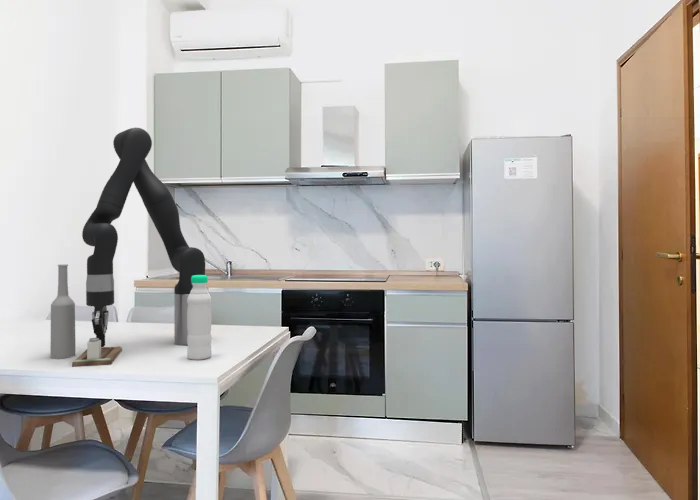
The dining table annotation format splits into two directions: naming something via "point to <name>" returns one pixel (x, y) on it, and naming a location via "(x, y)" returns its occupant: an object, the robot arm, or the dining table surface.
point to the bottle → (62, 319)
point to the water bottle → (199, 319)
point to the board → (106, 358)
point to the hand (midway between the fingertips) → (100, 346)
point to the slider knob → (94, 348)
